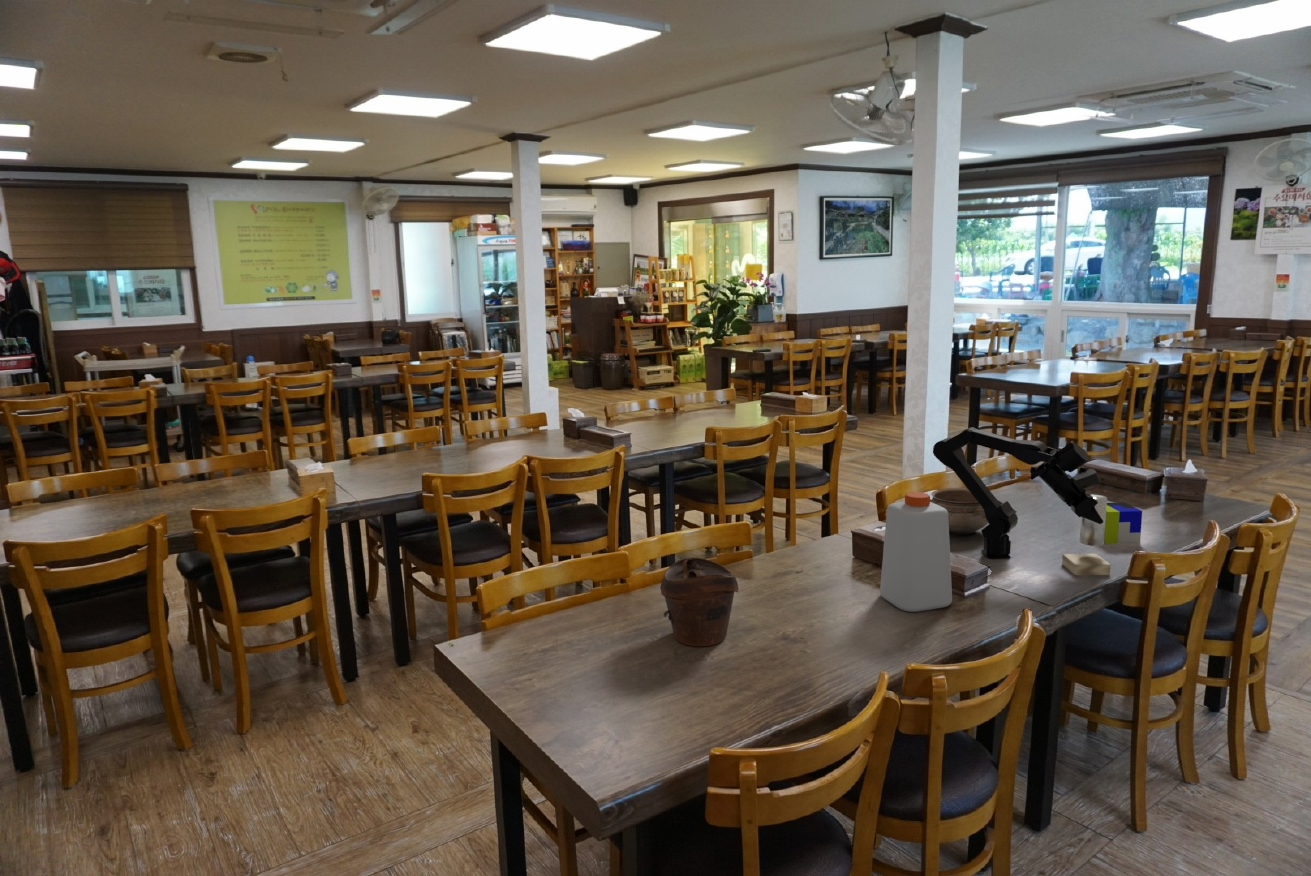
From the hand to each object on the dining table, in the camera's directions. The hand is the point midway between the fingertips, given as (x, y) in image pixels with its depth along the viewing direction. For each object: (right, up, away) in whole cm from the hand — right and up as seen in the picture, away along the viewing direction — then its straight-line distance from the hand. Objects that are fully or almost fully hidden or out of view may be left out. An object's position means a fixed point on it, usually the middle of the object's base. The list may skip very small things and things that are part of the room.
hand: (1098, 519), depth 234 cm
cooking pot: (-25, -8, +37) cm, 45 cm away
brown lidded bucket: (-112, -25, -33) cm, 119 cm away
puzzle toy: (+18, -8, +25) cm, 32 cm away
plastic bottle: (-56, -19, -17) cm, 61 cm away
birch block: (-4, -14, 0) cm, 14 cm away
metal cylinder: (-1, -7, +2) cm, 7 cm away
